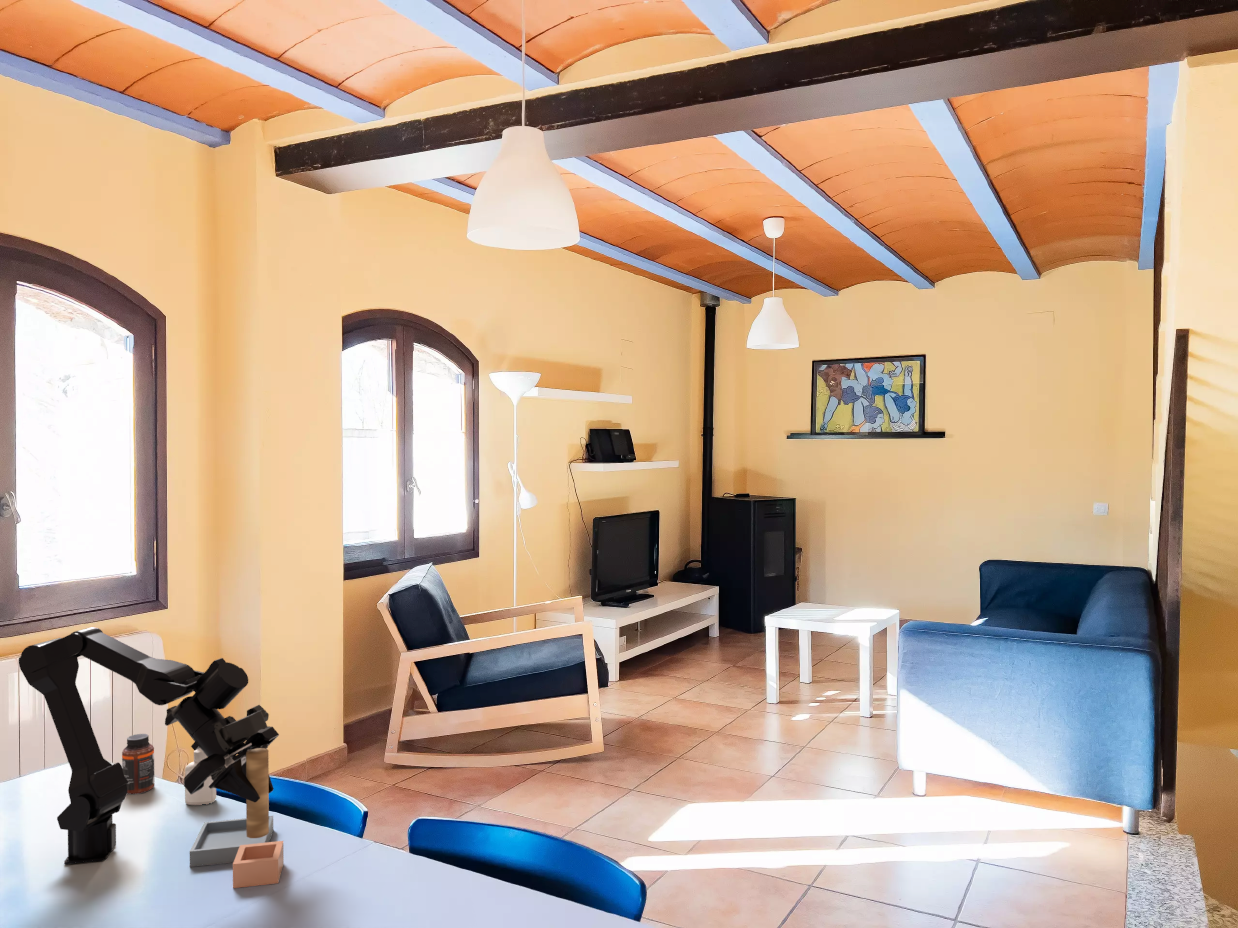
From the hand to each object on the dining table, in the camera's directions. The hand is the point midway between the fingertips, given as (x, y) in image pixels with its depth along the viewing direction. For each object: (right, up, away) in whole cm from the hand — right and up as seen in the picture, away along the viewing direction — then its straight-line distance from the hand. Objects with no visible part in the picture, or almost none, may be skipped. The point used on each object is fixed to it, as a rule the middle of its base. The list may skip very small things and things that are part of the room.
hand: (264, 795), depth 149 cm
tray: (-10, -13, +10) cm, 19 cm away
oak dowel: (-1, -7, 0) cm, 7 cm away
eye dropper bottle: (-25, -13, +30) cm, 41 cm away
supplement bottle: (-41, -13, +36) cm, 56 cm away
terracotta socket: (-1, -13, 0) cm, 14 cm away
